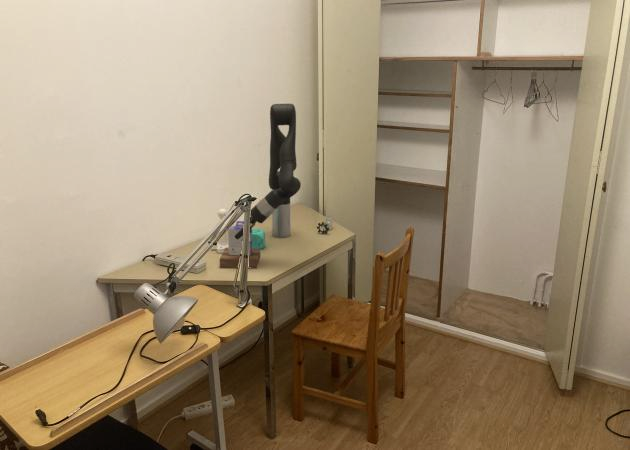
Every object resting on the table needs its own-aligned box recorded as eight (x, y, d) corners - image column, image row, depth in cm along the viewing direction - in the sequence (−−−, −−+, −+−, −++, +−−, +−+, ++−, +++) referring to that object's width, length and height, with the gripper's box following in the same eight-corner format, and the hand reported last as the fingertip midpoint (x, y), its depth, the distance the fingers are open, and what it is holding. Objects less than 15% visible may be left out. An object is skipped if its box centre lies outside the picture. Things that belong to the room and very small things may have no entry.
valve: (324, 227, 288) (316, 233, 277) (324, 215, 286) (316, 221, 275) (335, 228, 286) (328, 235, 275) (336, 216, 284) (328, 223, 273)
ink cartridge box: (253, 252, 238) (252, 221, 234) (250, 256, 233) (249, 224, 229) (231, 251, 239) (230, 220, 235) (228, 255, 234) (227, 223, 230)
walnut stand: (225, 256, 244) (225, 248, 243) (260, 256, 244) (260, 248, 243) (219, 267, 231) (219, 259, 229) (257, 268, 231) (256, 259, 229)
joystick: (236, 249, 254) (235, 208, 248) (230, 254, 246) (229, 212, 241) (214, 247, 256) (213, 206, 250) (208, 252, 249) (206, 211, 243)
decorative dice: (246, 249, 253) (246, 233, 251) (248, 244, 261) (248, 228, 258) (263, 249, 253) (263, 233, 251) (265, 244, 261) (264, 228, 258)
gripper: (258, 199, 236) (233, 224, 240) (254, 208, 222) (228, 234, 226) (270, 211, 238) (245, 235, 241) (267, 220, 224) (241, 246, 228)
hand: (237, 235), depth 234 cm, fingers open, 8 cm apart
